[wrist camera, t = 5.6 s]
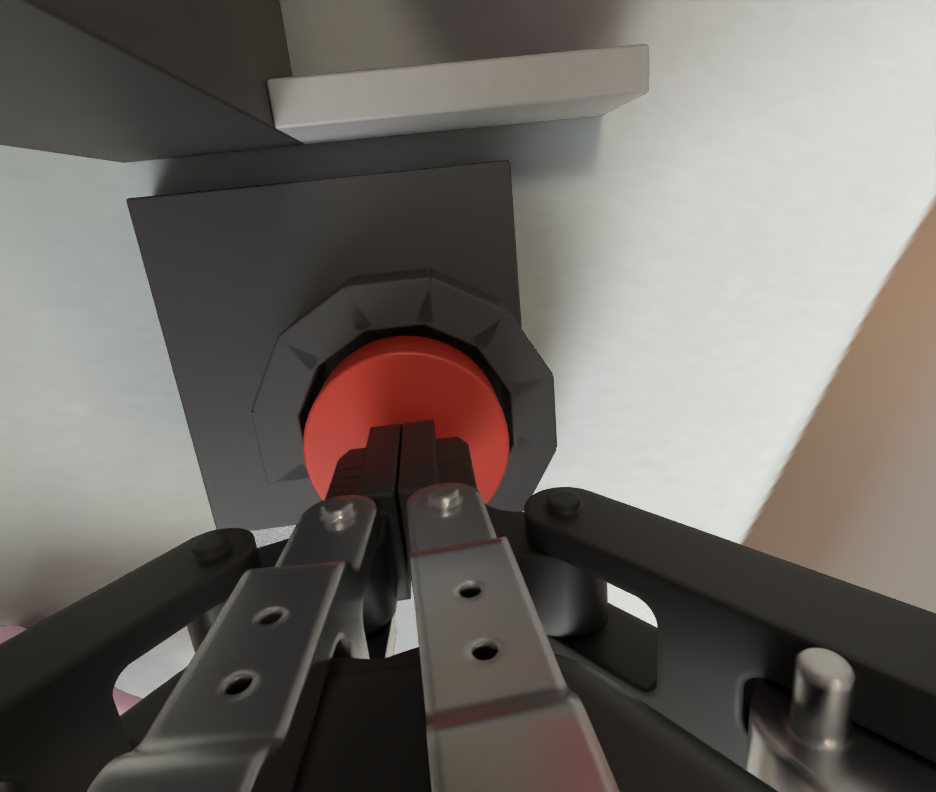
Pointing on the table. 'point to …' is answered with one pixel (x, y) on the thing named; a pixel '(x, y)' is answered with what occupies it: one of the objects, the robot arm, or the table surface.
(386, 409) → the power button
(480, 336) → the button deck
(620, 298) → the table surface
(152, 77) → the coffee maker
